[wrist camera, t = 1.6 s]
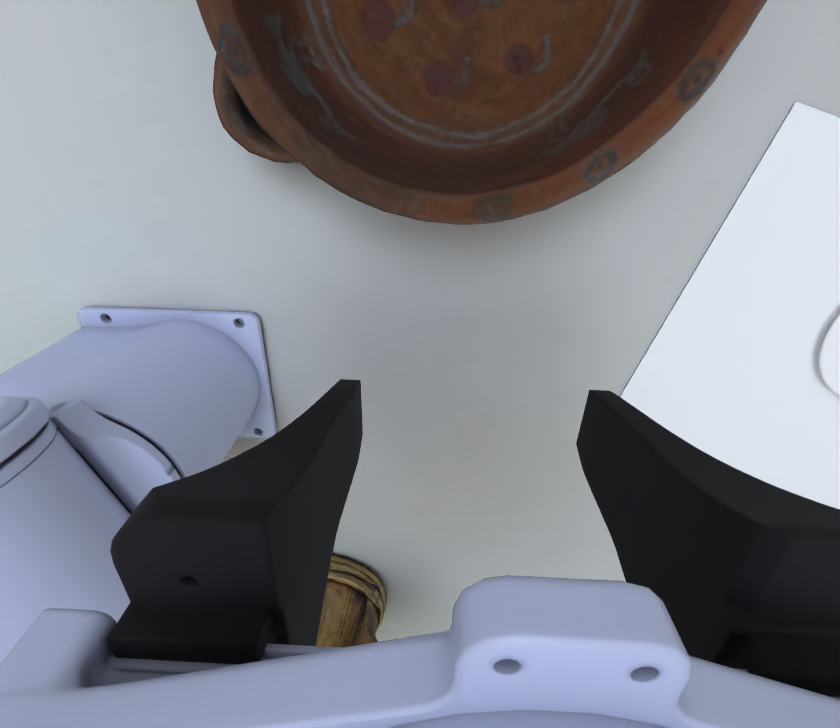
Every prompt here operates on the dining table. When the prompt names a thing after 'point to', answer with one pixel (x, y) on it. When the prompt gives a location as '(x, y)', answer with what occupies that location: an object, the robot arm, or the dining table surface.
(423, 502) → the dining table surface
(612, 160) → the dish
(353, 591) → the wooden mug
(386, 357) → the dining table surface
